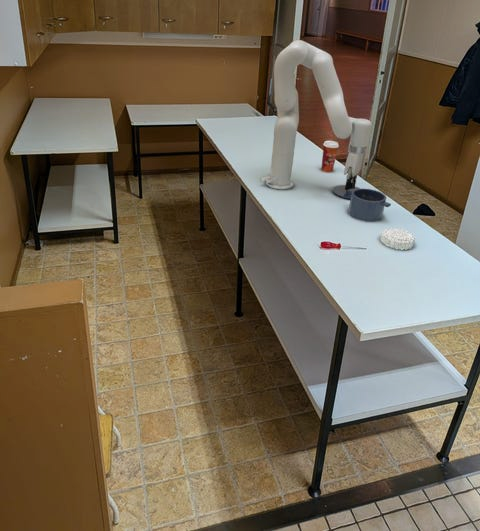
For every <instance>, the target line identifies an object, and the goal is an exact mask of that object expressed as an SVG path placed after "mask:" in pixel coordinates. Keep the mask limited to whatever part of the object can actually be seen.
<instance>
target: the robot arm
mask: <svg viewBox="0 0 480 531" xmlns="http://www.w3.org/2000/svg"><path fill="white" fill-rule="evenodd" d="M299 65H302V66H304V67H306V68H308V69H310V70H311V71H312V74H313V76H314V79H315V83H316V85H317V87H318V88H317V89H318V90H319V93H320V96H321V100H322V103H323V105H324V108H325V112H326V114H327V117H328V120H329V123H330V125H331V128H332V131H333V134H334V135H335V136H336V138H337V139H340V140H346V139H348V138H349V137H350V138H349V143H348V148H347V152H348V155H347V157H346V161H345V166H344V170H343V175H344V176H345V175H346V177H345V178H346V181H345V184H344V185H345V190H349V189H352V188H353V189H354V188H355V187H356V183H357V178H358V174H360V173H361V170H362V166H363V161H364V155H366V153H367V149H368V144H369V138H370V135H371V129H372V122H371V120H369V119H367V118H355V117H351V116H349V114H348V110H347V108H346V104H345V100H344V99H345V98H344V92H343V88H342V85H341V82H340V80H339V76H338V75H337V71H336V68H335V65H334V59H333V57H332V55H331V53H328V52H327V51H324V50H323V49H321V48H318V47H316V46H314V45H312V44H310V43H308V42H306V41H304V40H301V39H296V40H293V41H291V42H290V43H289V45H287V46H286V47H285V48H283V50H281V51H280V52H279V53H278V55H277V56H276V58H275V61H274V65H273V90H274V97H273V98H274V105H275V108H276V114H277V118H276V121H275V123H274V128H273V142H272V152H271V161H270V163H271V164H270V171H269V174H267V176H266V177H261V178H260V179H259V180H260V183H265V185H266V186H267V187H269V188H271V189H275V190H289V189H292V188H293V187H294V181H292V179H291V178H292V173H293V164H294V156H295V148H296V140H297V132H298V127H299V123H300V111H299V110H300V108H299V93H298V90H297V88H296V76H295V74H296V73H295V71H296V68H297V67H299ZM353 181H354V182H353ZM353 183H354V185H353Z"/></svg>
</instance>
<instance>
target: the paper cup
mask: <svg viewBox="0 0 480 531" xmlns="http://www.w3.org/2000/svg"><path fill="white" fill-rule="evenodd" d="M322 145H323V150H322V158H321V171H322V172H324V173H333V170H334V167H335V162H336V158H337V154H338V150H339V147H340V145H339V142H337V141H335V140H325V141H324V143H323V144H322Z"/></svg>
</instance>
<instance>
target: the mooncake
mask: <svg viewBox="0 0 480 531" xmlns="http://www.w3.org/2000/svg"><path fill="white" fill-rule="evenodd" d="M379 238H380V239H379V240H380V242H381V243H382V245H385V246H386V247H387V248H391V249H395V250H400V251H403V250H406V251H407V250H410V249H412V248H413V247H414V243H415V240H416V237H415V234H413V233H411V232H410V231H408V230H406V229H404V228H399V227H388V228H384V229H383V230H382V231H381V235H380V237H379Z"/></svg>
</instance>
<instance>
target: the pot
mask: <svg viewBox="0 0 480 531" xmlns="http://www.w3.org/2000/svg"><path fill="white" fill-rule="evenodd" d="M347 192H349V193H351V194H352V195H351V199H349V200H350V201H349V206H348V214H349V216H351V217H352V218H354V219H357V220H360V221H363V222H377V221H380V220H382V218H383V215H384V210H385V208H389V207H391V205H392V203H390V202H388V201H387V196H386V194H384V193H383V192H381V191H379V190H376V189H371V188H361V189H356V190H353V189H349V190H348V191H347Z"/></svg>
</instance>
